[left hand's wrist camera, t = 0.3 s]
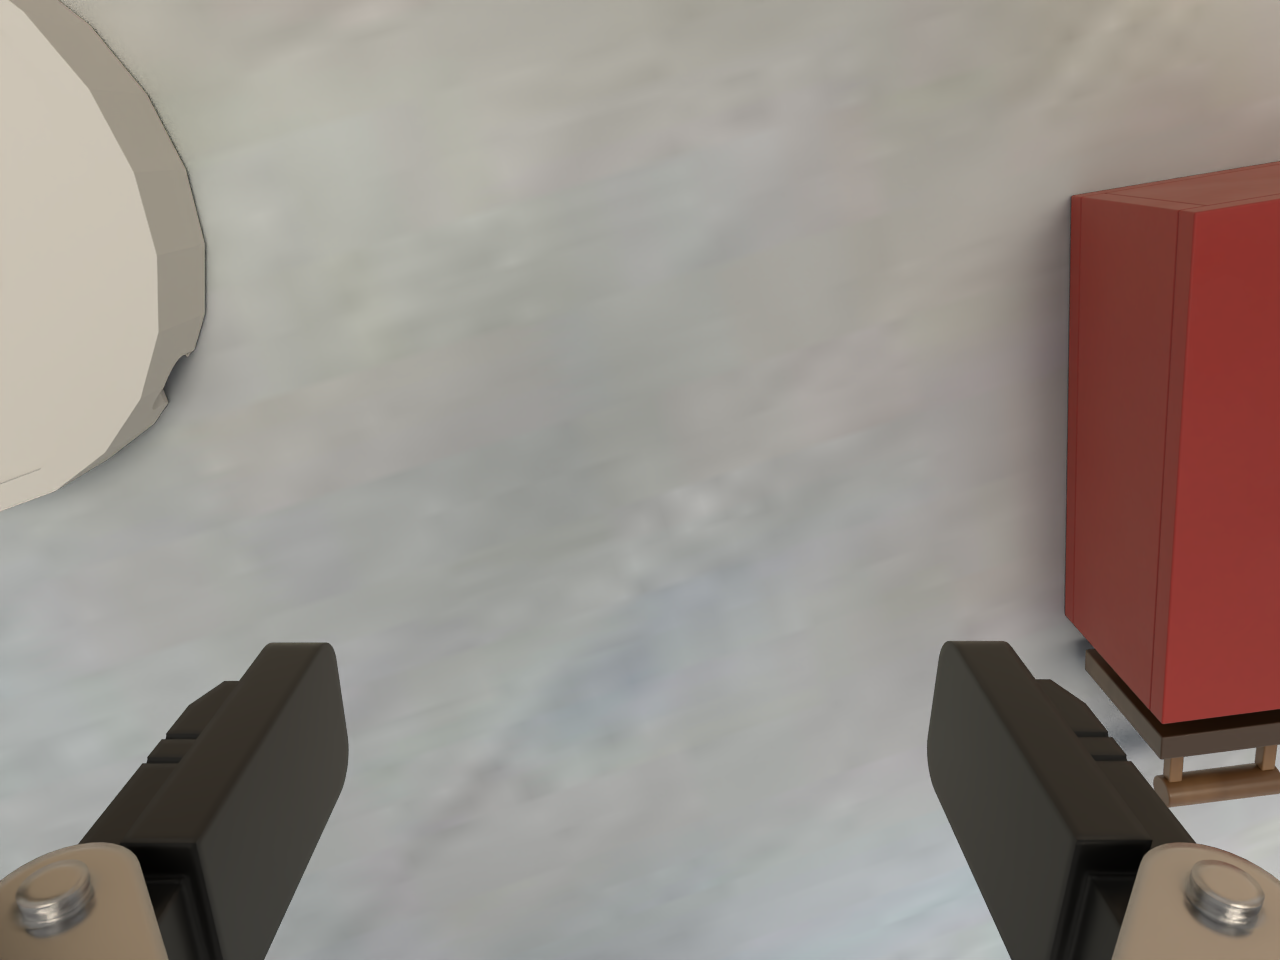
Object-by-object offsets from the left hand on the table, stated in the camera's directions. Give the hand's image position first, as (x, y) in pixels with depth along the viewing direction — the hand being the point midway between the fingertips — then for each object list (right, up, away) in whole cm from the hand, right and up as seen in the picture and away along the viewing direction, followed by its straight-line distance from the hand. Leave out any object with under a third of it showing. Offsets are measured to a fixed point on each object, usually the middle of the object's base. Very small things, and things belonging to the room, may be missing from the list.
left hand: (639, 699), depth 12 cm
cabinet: (+25, +6, +29) cm, 39 cm away
